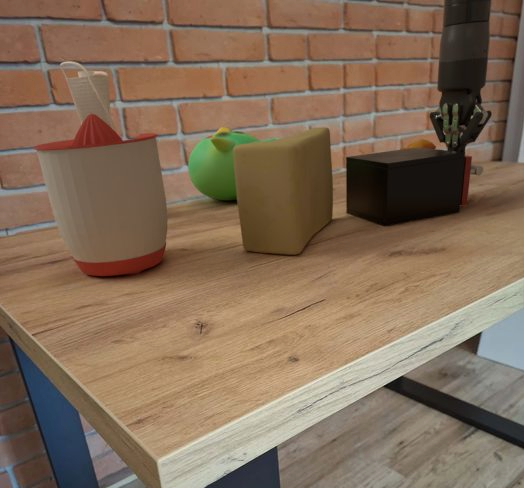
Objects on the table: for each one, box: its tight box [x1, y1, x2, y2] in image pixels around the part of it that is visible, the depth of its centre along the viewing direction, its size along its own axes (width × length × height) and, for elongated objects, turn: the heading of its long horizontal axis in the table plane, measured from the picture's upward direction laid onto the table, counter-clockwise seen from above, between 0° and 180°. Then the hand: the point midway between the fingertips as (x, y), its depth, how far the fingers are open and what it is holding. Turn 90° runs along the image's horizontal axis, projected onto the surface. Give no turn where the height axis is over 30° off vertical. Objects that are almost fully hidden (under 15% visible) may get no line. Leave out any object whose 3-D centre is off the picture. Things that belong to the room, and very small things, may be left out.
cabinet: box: [345, 147, 466, 227], centre depth 87 cm, size 15×13×10 cm
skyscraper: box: [59, 61, 118, 134], centre depth 95 cm, size 8×8×28 cm
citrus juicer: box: [33, 114, 168, 277], centre depth 70 cm, size 16×17×20 cm
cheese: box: [233, 126, 334, 256], centre depth 78 cm, size 22×10×15 cm, turn 151°
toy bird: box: [187, 126, 282, 201], centre depth 109 cm, size 18×17×15 cm
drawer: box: [460, 155, 484, 207], centre depth 89 cm, size 18×11×8 cm, turn 112°
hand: (454, 168), depth 91 cm, fingers closed
